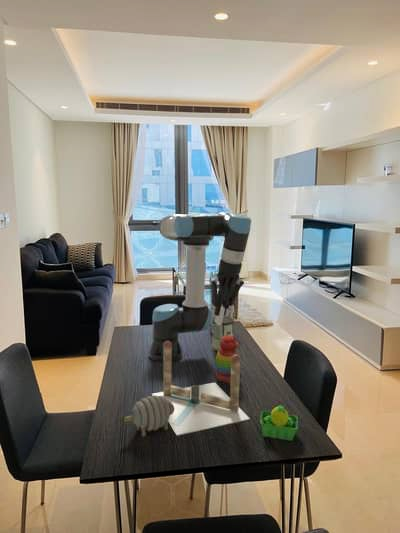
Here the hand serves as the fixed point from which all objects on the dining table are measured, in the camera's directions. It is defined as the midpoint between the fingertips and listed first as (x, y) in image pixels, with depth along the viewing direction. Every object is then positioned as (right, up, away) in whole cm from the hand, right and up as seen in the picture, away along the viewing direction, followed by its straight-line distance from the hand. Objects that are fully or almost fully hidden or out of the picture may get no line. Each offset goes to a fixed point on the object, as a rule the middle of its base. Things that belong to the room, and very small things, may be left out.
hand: (217, 323), depth 146 cm
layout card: (-7, -29, 0) cm, 30 cm away
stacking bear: (+5, -26, +23) cm, 35 cm away
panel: (+1, -29, -1) cm, 29 cm away
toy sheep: (-22, -32, -14) cm, 42 cm away
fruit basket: (+18, -33, -16) cm, 41 cm away
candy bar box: (+5, -16, +74) cm, 76 cm away
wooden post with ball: (-13, -28, +5) cm, 32 cm away
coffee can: (+5, -20, +55) cm, 58 cm away
